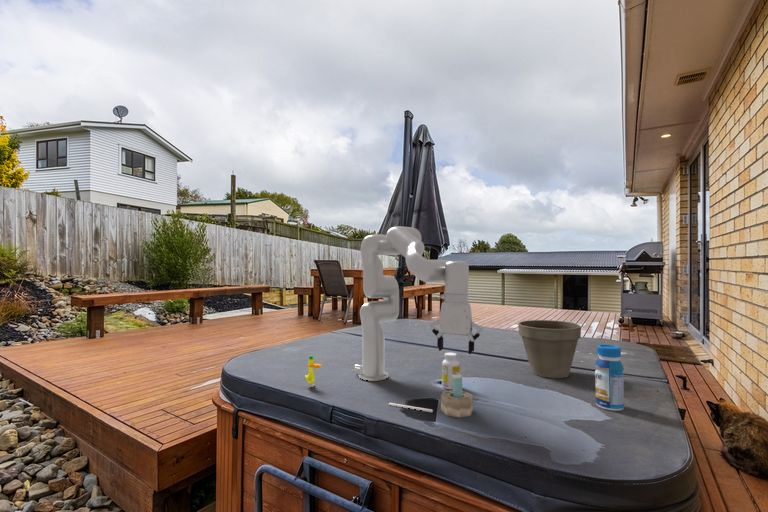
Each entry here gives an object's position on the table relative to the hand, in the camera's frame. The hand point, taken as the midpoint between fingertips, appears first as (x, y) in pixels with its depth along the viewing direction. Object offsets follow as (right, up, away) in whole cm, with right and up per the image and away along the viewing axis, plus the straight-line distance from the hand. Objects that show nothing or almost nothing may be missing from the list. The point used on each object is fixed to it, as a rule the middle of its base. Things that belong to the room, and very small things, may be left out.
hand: (455, 351), depth 120 cm
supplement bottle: (+3, -20, +22) cm, 30 cm away
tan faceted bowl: (0, -19, -1) cm, 19 cm away
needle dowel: (+1, -19, -1) cm, 19 cm away
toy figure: (-51, -20, +22) cm, 59 cm away
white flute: (-15, -19, +1) cm, 24 cm away
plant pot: (+49, -20, +40) cm, 66 cm away
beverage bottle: (+52, -19, +3) cm, 56 cm away
